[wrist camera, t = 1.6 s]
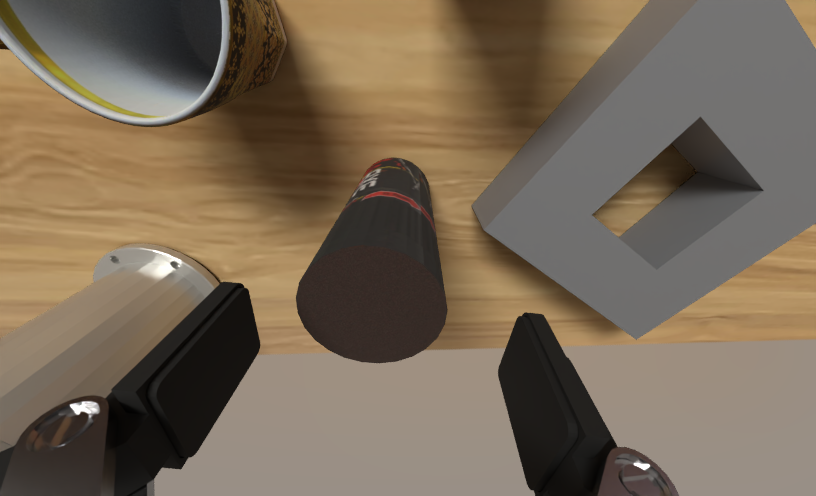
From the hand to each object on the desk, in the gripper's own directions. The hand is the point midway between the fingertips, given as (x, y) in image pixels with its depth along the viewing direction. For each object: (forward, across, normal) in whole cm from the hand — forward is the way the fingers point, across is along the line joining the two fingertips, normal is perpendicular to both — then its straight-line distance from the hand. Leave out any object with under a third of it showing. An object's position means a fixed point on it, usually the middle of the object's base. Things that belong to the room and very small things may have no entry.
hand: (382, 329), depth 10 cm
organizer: (+17, -18, -2) cm, 25 cm away
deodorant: (+16, +1, 0) cm, 16 cm away
